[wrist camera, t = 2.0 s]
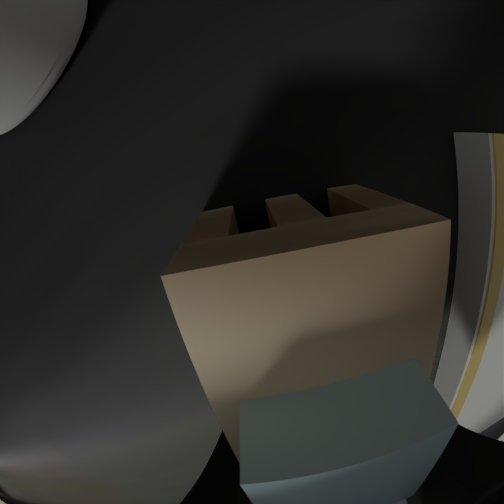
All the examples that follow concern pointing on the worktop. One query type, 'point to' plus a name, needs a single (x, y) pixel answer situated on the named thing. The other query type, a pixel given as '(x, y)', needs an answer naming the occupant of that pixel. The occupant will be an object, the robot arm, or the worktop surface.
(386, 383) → the block
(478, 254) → the dock
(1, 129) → the pill bottle
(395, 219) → the tan notched block
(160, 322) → the worktop surface
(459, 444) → the robot arm
